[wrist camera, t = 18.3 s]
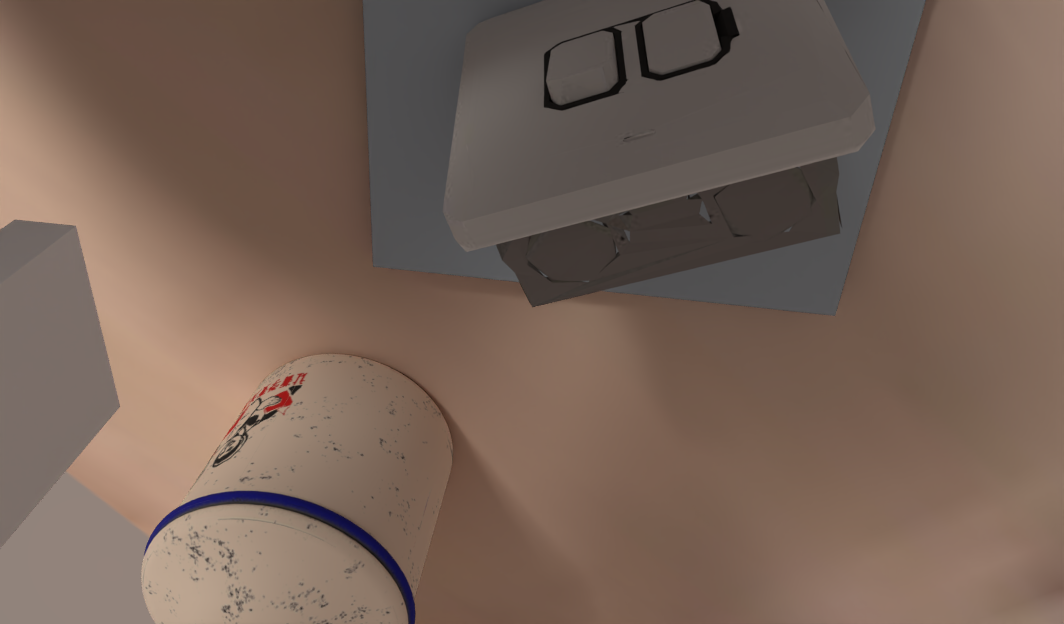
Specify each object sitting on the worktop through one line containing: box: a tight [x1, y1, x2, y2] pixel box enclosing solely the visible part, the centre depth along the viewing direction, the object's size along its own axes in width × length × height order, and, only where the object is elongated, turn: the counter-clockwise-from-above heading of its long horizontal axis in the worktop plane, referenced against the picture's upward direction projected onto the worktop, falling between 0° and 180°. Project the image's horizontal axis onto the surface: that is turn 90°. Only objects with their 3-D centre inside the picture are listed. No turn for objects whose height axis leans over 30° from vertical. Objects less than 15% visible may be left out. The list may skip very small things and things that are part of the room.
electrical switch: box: [443, 0, 876, 307], centre depth 22 cm, size 9×5×9 cm, turn 108°
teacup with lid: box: [141, 354, 453, 624], centre depth 31 cm, size 12×9×12 cm
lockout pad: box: [363, 0, 926, 316], centre depth 26 cm, size 16×16×1 cm
